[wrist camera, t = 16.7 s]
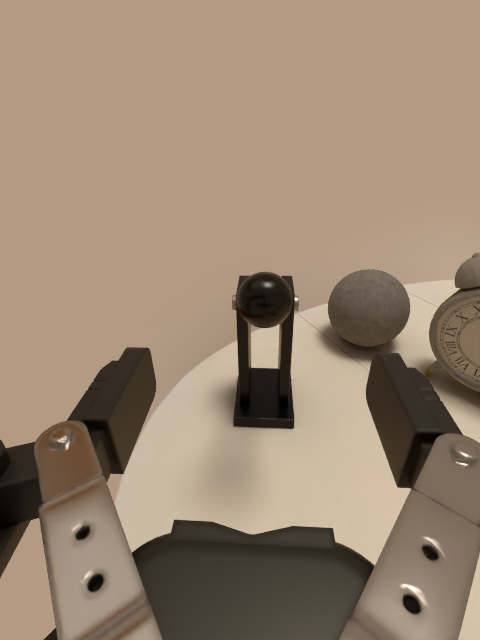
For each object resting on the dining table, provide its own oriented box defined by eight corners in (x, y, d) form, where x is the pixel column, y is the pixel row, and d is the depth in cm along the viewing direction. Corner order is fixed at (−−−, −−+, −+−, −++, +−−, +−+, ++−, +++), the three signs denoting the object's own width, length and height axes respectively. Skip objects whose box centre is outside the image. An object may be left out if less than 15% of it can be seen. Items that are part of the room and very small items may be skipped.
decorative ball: (384, 320, 52) (398, 257, 46) (413, 361, 43) (434, 288, 38) (318, 322, 52) (324, 259, 47) (333, 363, 43) (343, 291, 38)
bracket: (293, 428, 34) (302, 306, 27) (233, 426, 35) (227, 305, 28) (289, 376, 41) (296, 268, 34) (239, 375, 42) (235, 268, 35)
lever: (294, 330, 19) (295, 268, 19) (233, 329, 19) (234, 268, 19) (282, 320, 33) (283, 285, 33) (247, 320, 33) (248, 285, 33)
